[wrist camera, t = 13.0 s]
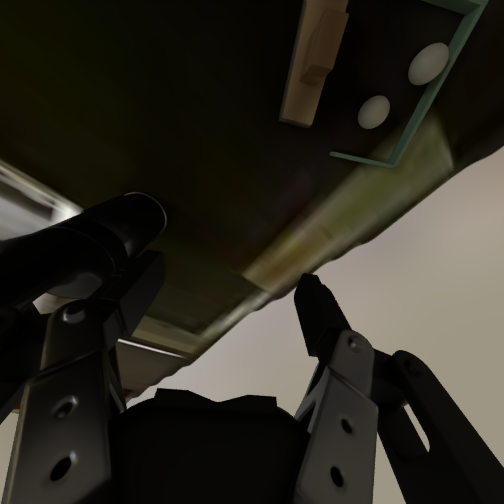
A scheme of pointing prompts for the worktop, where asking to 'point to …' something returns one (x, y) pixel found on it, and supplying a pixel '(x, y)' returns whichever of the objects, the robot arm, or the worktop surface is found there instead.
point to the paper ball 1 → (373, 112)
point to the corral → (471, 5)
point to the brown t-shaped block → (312, 59)
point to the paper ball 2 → (428, 63)
